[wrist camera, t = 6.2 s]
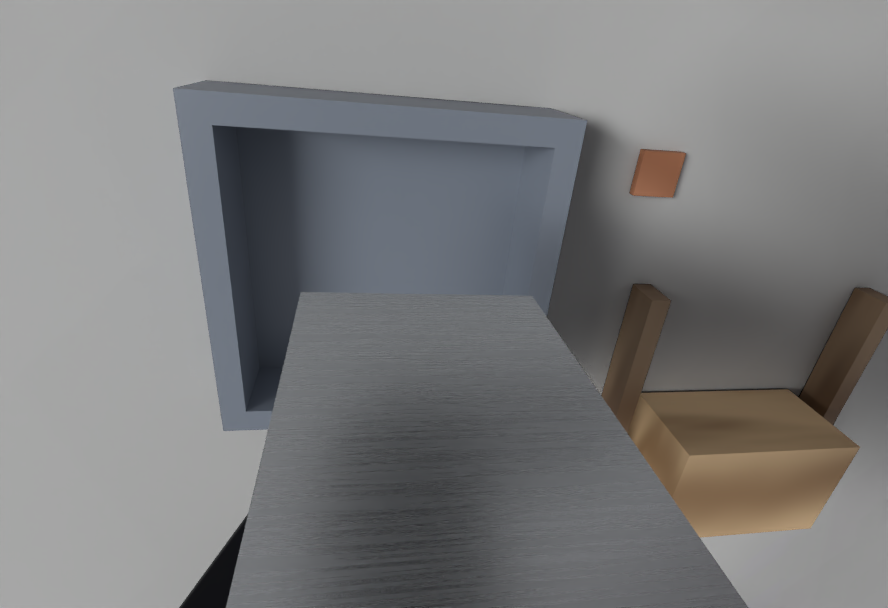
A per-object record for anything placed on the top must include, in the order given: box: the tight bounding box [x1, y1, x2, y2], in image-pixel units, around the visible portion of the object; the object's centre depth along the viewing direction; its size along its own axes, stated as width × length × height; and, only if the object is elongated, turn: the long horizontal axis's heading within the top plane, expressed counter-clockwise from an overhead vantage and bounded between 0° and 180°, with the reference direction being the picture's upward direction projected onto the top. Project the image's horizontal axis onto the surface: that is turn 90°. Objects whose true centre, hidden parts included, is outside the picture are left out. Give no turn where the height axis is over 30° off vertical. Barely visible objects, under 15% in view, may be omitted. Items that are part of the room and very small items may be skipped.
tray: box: [173, 80, 587, 431], centre depth 17 cm, size 11×11×3 cm
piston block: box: [628, 389, 860, 537], centre depth 23 cm, size 5×8×4 cm, turn 85°
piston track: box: [601, 149, 888, 433], centre depth 22 cm, size 17×13×2 cm
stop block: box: [226, 292, 748, 608], centre depth 7 cm, size 6×4×7 cm, turn 175°
